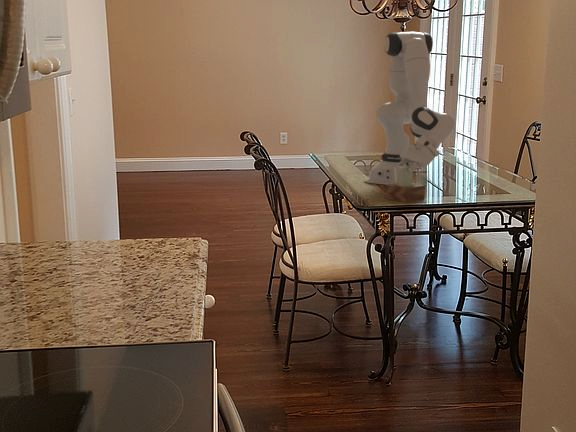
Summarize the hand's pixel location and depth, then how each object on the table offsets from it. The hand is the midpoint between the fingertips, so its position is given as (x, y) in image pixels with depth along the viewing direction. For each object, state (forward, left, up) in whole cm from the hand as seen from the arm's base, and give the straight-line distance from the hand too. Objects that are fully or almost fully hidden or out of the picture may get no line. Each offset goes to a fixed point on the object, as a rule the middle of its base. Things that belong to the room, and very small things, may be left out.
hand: (403, 169), depth 301 cm
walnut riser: (+1, 0, -13) cm, 13 cm away
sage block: (0, 0, -7) cm, 7 cm away
